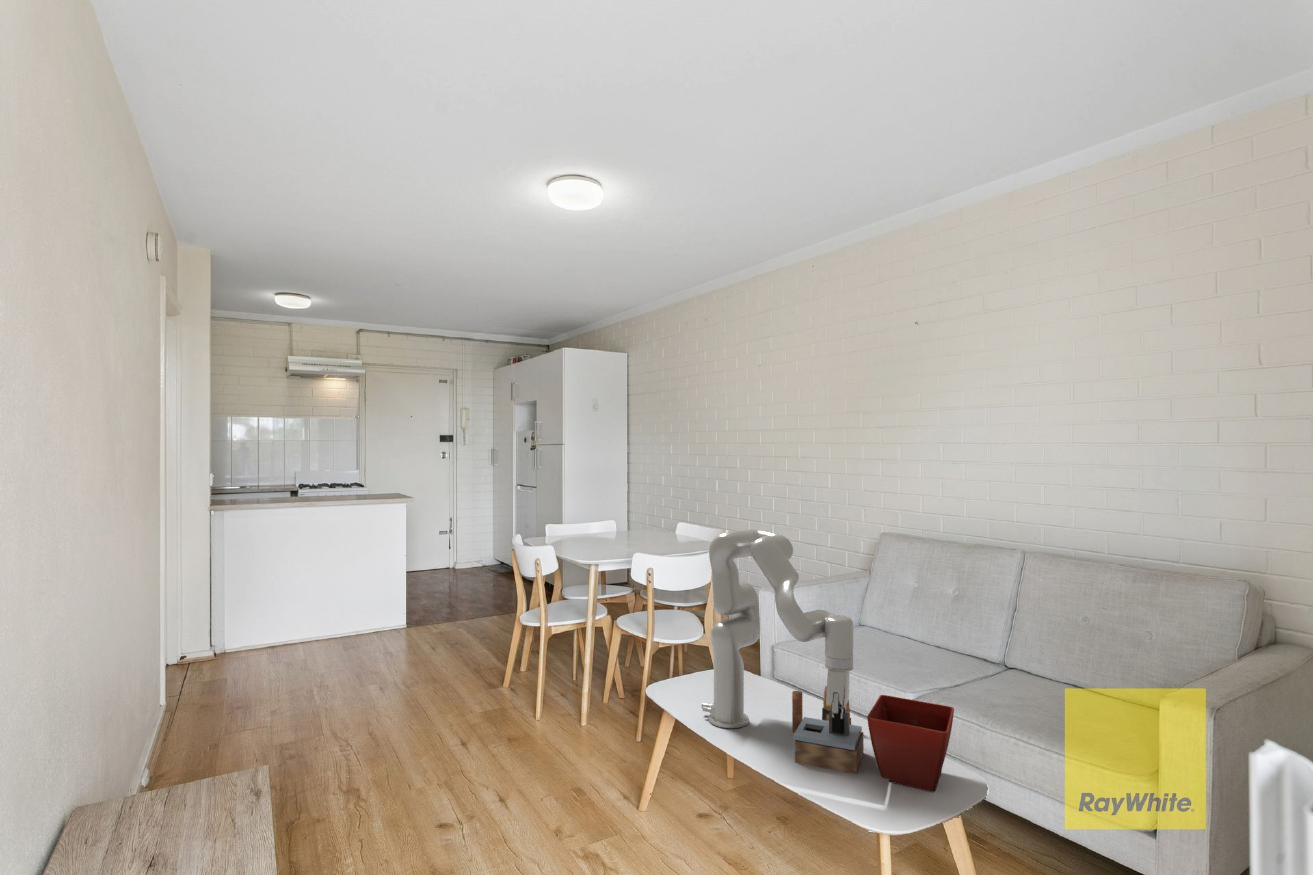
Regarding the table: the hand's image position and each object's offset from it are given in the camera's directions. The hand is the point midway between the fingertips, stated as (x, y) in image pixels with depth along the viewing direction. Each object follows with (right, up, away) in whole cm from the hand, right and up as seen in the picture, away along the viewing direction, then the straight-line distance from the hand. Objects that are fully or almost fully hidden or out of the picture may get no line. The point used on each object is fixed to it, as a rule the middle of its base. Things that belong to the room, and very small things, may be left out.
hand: (839, 729), depth 181 cm
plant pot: (+17, -9, -8) cm, 21 cm away
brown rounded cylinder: (-7, -10, +18) cm, 22 cm away
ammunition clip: (+5, -10, +22) cm, 25 cm away
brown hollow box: (-2, -9, +1) cm, 9 cm away
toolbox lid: (-3, -2, +1) cm, 4 cm away
